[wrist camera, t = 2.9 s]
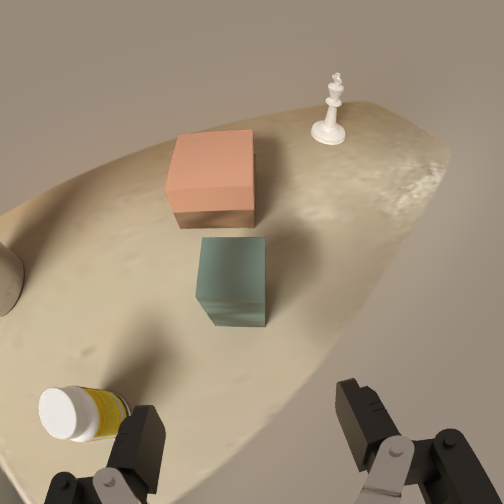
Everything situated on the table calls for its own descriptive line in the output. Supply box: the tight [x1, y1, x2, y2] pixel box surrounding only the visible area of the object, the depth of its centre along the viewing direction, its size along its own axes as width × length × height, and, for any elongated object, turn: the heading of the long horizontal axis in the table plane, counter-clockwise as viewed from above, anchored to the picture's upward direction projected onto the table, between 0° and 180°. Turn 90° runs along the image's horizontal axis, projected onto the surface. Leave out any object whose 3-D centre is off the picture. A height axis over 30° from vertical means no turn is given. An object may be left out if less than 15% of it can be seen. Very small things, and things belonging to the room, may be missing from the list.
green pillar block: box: [196, 237, 266, 327], centre depth 23 cm, size 4×4×8 cm
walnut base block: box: [174, 154, 256, 229], centre depth 31 cm, size 8×8×4 cm
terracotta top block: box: [164, 130, 254, 213], centre depth 28 cm, size 8×8×4 cm
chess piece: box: [311, 73, 346, 145], centre depth 33 cm, size 5×5×10 cm
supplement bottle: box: [39, 386, 131, 442], centre depth 18 cm, size 5×5×8 cm
